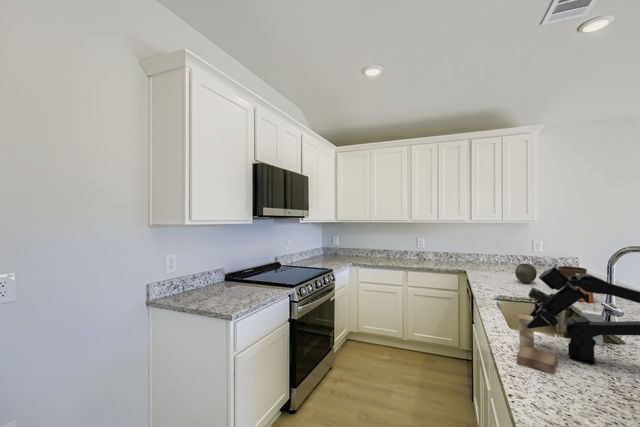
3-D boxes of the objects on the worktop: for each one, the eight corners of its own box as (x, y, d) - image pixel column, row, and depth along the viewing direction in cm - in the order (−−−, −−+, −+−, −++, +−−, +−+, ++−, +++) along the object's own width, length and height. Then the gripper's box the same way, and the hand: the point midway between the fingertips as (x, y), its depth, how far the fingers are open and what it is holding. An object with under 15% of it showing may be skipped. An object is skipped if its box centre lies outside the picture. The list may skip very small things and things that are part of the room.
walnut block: (557, 364, 102) (557, 354, 102) (553, 375, 95) (553, 364, 95) (523, 355, 109) (522, 346, 109) (517, 365, 102) (516, 355, 102)
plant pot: (590, 295, 189) (589, 270, 190) (560, 292, 197) (560, 268, 198) (584, 290, 202) (583, 267, 202) (557, 288, 210) (556, 265, 210)
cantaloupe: (511, 281, 234) (511, 262, 234) (530, 281, 232) (530, 262, 232) (521, 285, 220) (520, 265, 220) (541, 285, 218) (541, 265, 218)
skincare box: (603, 342, 118) (602, 312, 119) (603, 346, 115) (602, 315, 115) (582, 338, 123) (581, 309, 123) (582, 341, 119) (581, 311, 120)
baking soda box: (593, 303, 171) (592, 276, 172) (578, 302, 175) (577, 275, 175) (589, 300, 179) (589, 273, 179) (575, 298, 183) (575, 272, 183)
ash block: (533, 347, 115) (533, 316, 115) (534, 352, 110) (533, 320, 110) (519, 344, 117) (519, 314, 118) (519, 349, 113) (519, 318, 113)
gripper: (541, 277, 119) (510, 301, 125) (544, 286, 103) (508, 313, 109) (567, 300, 114) (533, 323, 120) (575, 313, 99) (535, 338, 105)
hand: (527, 323), depth 114 cm, fingers open, 9 cm apart
